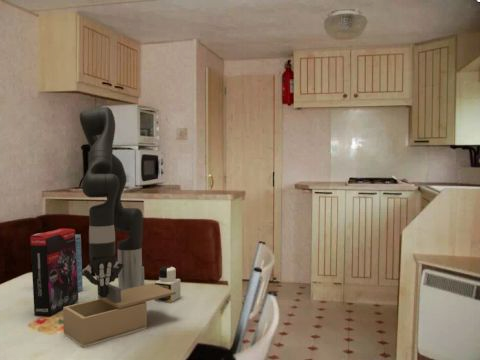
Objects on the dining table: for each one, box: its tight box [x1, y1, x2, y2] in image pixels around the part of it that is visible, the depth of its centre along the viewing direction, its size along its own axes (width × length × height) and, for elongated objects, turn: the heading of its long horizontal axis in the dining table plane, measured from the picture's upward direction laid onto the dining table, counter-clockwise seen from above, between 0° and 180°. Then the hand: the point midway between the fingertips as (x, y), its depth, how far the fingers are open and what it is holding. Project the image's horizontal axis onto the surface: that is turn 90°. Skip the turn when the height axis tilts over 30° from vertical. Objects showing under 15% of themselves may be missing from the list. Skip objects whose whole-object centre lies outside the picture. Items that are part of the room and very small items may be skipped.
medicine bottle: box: [154, 265, 182, 304], centre depth 162 cm, size 7×7×12 cm
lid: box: [97, 282, 176, 308], centre depth 139 cm, size 20×14×5 cm
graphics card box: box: [29, 227, 79, 317], centre depth 152 cm, size 17×7×27 cm, turn 168°
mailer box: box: [62, 298, 148, 348], centre depth 131 cm, size 20×14×8 cm
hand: (103, 297), depth 131 cm, fingers closed
